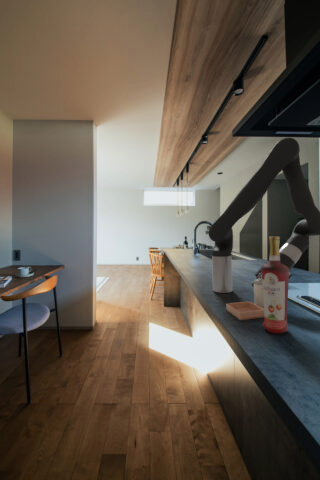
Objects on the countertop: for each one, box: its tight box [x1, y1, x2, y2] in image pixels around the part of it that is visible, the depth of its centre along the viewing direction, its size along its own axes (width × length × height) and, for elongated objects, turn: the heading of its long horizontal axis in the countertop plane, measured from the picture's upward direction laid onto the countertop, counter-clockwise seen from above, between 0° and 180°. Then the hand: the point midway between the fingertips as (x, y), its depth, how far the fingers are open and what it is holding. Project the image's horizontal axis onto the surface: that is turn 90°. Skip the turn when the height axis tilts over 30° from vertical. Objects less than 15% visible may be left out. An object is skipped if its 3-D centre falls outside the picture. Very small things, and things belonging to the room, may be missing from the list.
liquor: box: [260, 236, 290, 335], centre depth 66 cm, size 7×7×28 cm
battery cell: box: [253, 277, 264, 309], centre depth 86 cm, size 4×4×11 cm
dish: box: [225, 300, 264, 321], centre depth 81 cm, size 10×10×2 cm
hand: (260, 289), depth 86 cm, fingers open, 8 cm apart
